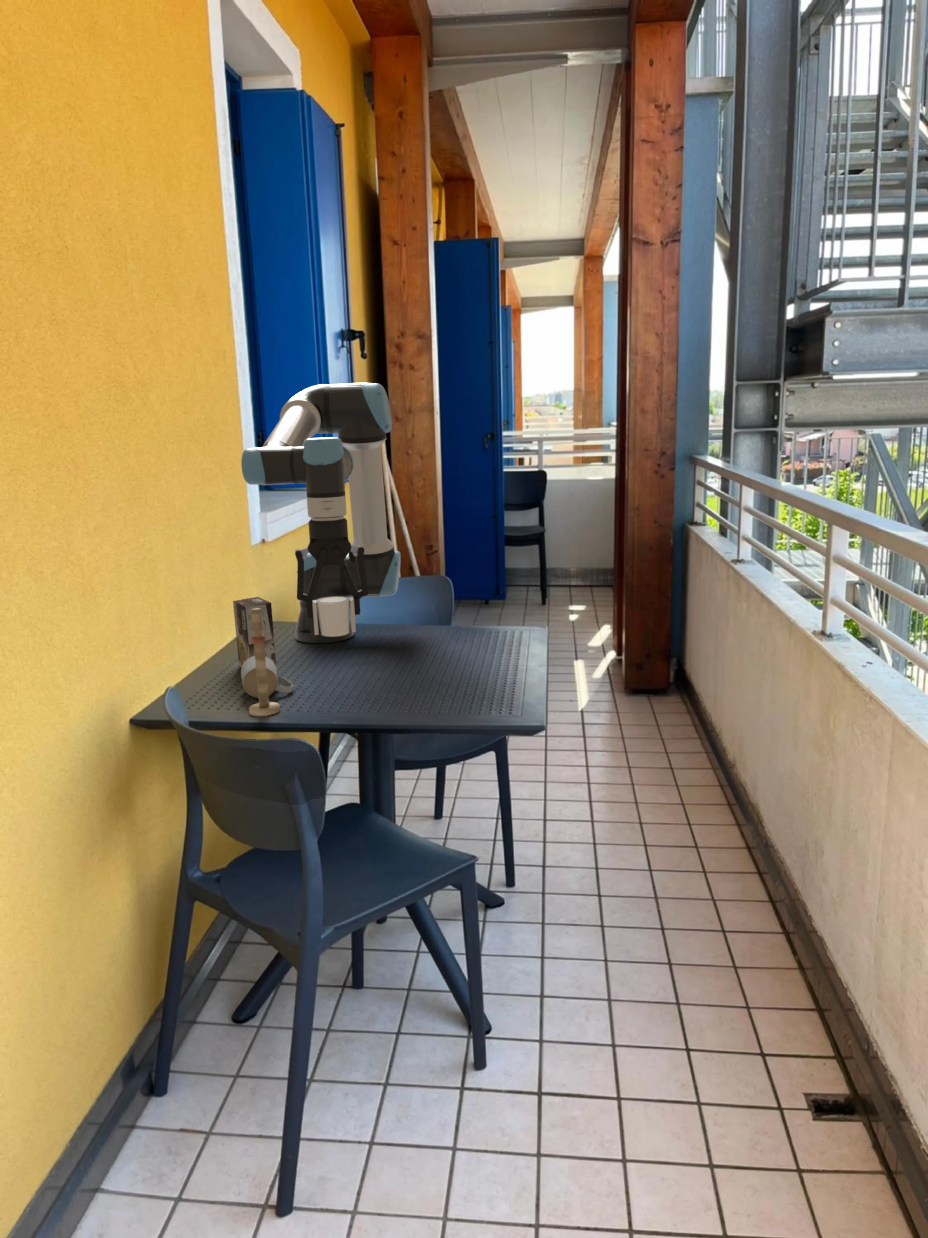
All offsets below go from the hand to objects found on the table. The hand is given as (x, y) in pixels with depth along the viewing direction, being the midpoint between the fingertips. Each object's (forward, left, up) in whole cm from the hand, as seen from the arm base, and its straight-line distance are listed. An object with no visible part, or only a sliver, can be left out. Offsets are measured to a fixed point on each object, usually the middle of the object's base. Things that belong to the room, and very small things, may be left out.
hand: (335, 631), depth 184 cm
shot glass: (0, 0, -1) cm, 1 cm away
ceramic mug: (-10, -15, -15) cm, 24 cm away
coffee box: (-30, -18, -15) cm, 38 cm away
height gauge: (+2, -15, -15) cm, 21 cm away
